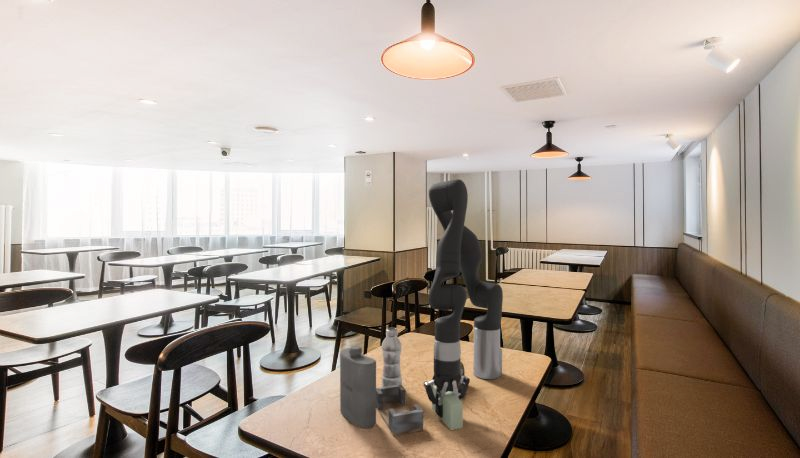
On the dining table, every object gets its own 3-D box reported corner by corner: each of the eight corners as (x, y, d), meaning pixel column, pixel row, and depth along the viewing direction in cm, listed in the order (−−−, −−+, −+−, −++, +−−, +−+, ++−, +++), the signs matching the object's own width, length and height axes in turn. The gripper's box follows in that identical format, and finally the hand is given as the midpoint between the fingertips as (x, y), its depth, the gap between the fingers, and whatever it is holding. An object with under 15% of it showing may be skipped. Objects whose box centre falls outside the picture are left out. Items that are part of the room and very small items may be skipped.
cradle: (401, 400, 119) (401, 384, 119) (423, 430, 103) (423, 411, 102) (374, 405, 116) (374, 388, 116) (393, 436, 100) (393, 416, 100)
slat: (442, 407, 115) (443, 384, 115) (462, 428, 104) (462, 402, 104) (432, 409, 114) (432, 385, 114) (450, 430, 103) (451, 404, 103)
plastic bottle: (399, 394, 123) (400, 332, 122) (379, 392, 124) (379, 331, 124) (403, 386, 129) (403, 327, 129) (384, 384, 131) (384, 325, 130)
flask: (334, 409, 114) (334, 342, 113) (352, 403, 117) (351, 338, 116) (361, 432, 102) (361, 357, 101) (379, 425, 105) (379, 352, 105)
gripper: (462, 347, 114) (462, 404, 115) (418, 353, 110) (418, 413, 110) (476, 356, 107) (475, 417, 108) (429, 363, 103) (429, 426, 103)
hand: (446, 414), depth 109 cm, fingers open, 3 cm apart
